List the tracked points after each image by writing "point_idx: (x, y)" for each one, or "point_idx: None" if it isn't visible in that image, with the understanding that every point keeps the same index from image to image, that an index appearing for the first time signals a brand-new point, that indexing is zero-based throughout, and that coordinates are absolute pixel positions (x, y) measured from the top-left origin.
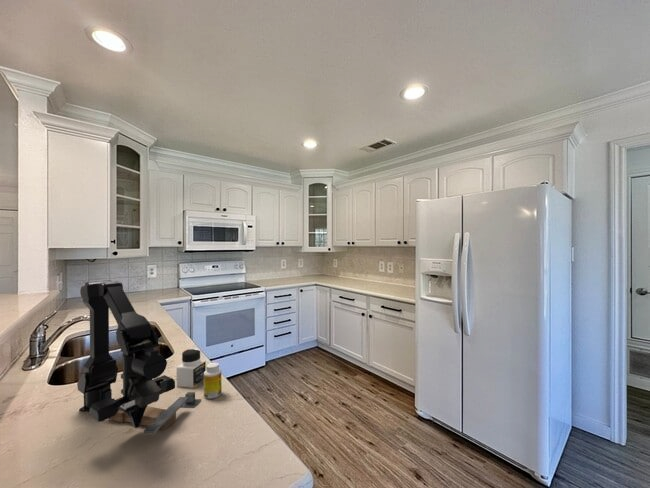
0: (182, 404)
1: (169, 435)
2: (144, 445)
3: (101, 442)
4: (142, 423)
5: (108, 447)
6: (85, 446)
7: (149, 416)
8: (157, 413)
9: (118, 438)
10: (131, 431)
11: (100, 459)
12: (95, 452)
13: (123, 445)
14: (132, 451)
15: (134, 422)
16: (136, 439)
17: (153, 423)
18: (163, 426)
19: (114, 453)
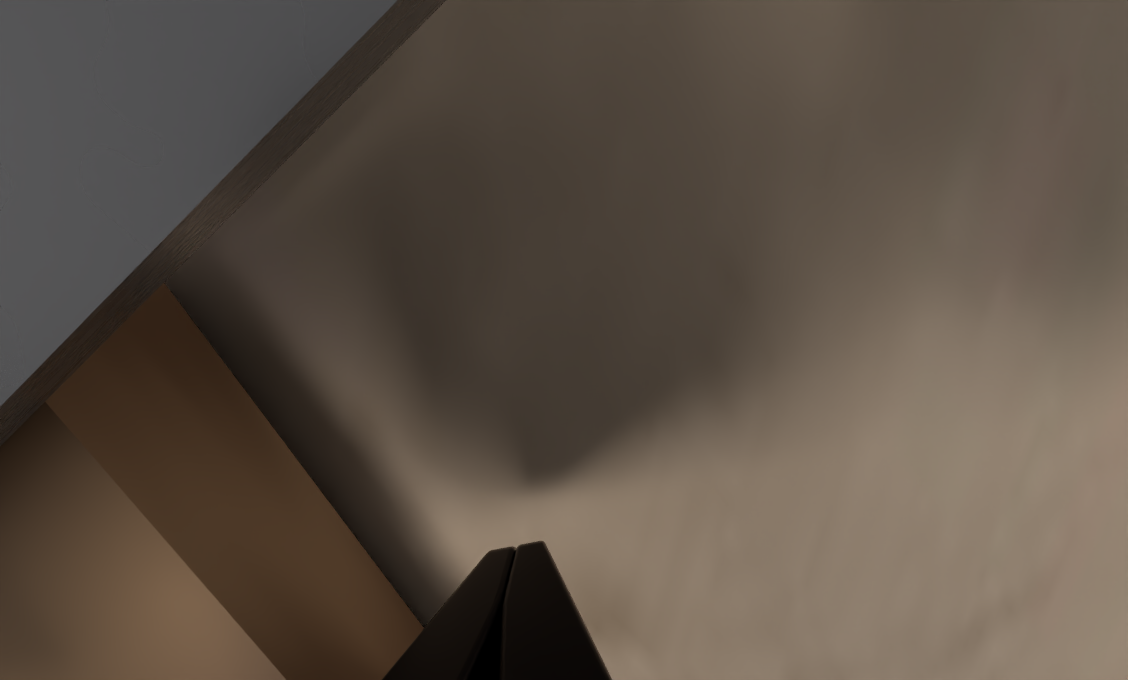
0: None
1: None
2: (508, 77)
3: (905, 622)
4: None
5: (889, 452)
6: (1047, 670)
7: (266, 671)
8: (106, 664)
9: (737, 560)
10: (573, 596)
11: (1059, 242)
12: (1031, 463)
13: (740, 344)
14: (692, 60)
15: (571, 621)
16: (566, 353)
17: (147, 130)
18: None
19: (888, 237)
